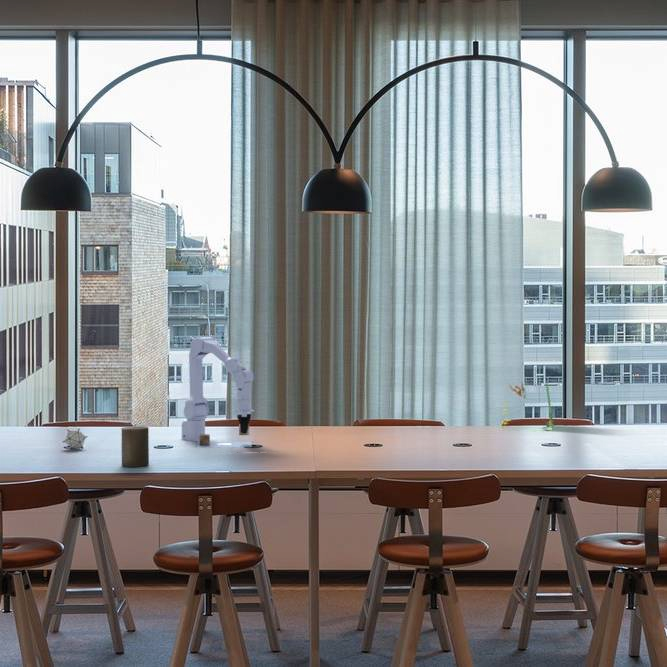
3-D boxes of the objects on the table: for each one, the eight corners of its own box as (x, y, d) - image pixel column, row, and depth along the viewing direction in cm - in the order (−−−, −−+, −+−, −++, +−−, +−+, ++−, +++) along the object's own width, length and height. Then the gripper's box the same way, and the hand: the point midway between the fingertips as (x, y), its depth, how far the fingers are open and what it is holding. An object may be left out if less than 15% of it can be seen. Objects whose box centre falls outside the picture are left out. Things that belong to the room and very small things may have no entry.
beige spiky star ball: (70, 458, 422) (54, 439, 421) (81, 448, 430) (66, 429, 428) (84, 449, 418) (68, 429, 417) (95, 439, 425) (79, 419, 424)
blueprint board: (196, 448, 424) (196, 447, 424) (197, 443, 439) (197, 442, 439) (251, 448, 426) (251, 446, 426) (251, 443, 441) (251, 441, 441)
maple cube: (239, 435, 431) (239, 425, 431) (239, 433, 435) (239, 424, 435) (249, 435, 431) (249, 425, 431) (248, 433, 435) (249, 424, 435)
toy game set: (501, 431, 508) (494, 381, 508) (554, 425, 503) (547, 375, 503) (498, 437, 487) (491, 385, 487) (553, 431, 481) (546, 379, 481)
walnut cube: (199, 445, 430) (199, 435, 430) (199, 444, 434) (199, 434, 434) (209, 445, 430) (209, 435, 430) (209, 444, 434) (209, 434, 434)
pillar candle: (149, 467, 380) (149, 425, 379) (121, 467, 378) (121, 425, 377) (148, 463, 389) (148, 422, 389) (121, 464, 387) (121, 422, 387)
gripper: (254, 401, 426) (254, 434, 426) (253, 397, 440) (253, 430, 441) (236, 401, 425) (236, 434, 426) (236, 397, 440) (236, 430, 440)
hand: (244, 432), depth 433 cm, fingers closed on maple cube, 4 cm apart
